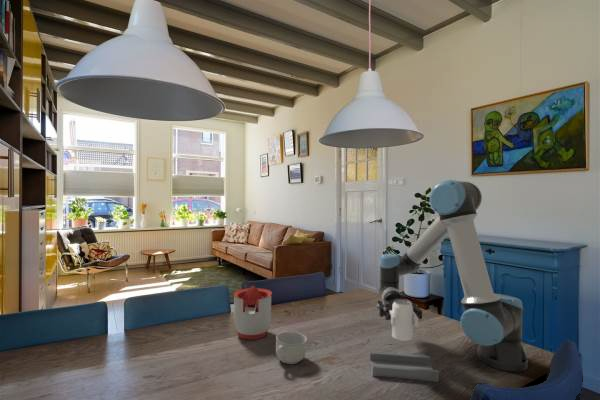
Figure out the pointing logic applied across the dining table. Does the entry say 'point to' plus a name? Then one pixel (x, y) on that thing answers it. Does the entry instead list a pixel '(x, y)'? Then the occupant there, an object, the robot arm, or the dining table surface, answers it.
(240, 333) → the citrus juicer
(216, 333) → the dining table surface
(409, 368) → the tray
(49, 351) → the dining table surface
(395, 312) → the can
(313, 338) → the dining table surface
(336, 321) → the dining table surface
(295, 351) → the teacup
